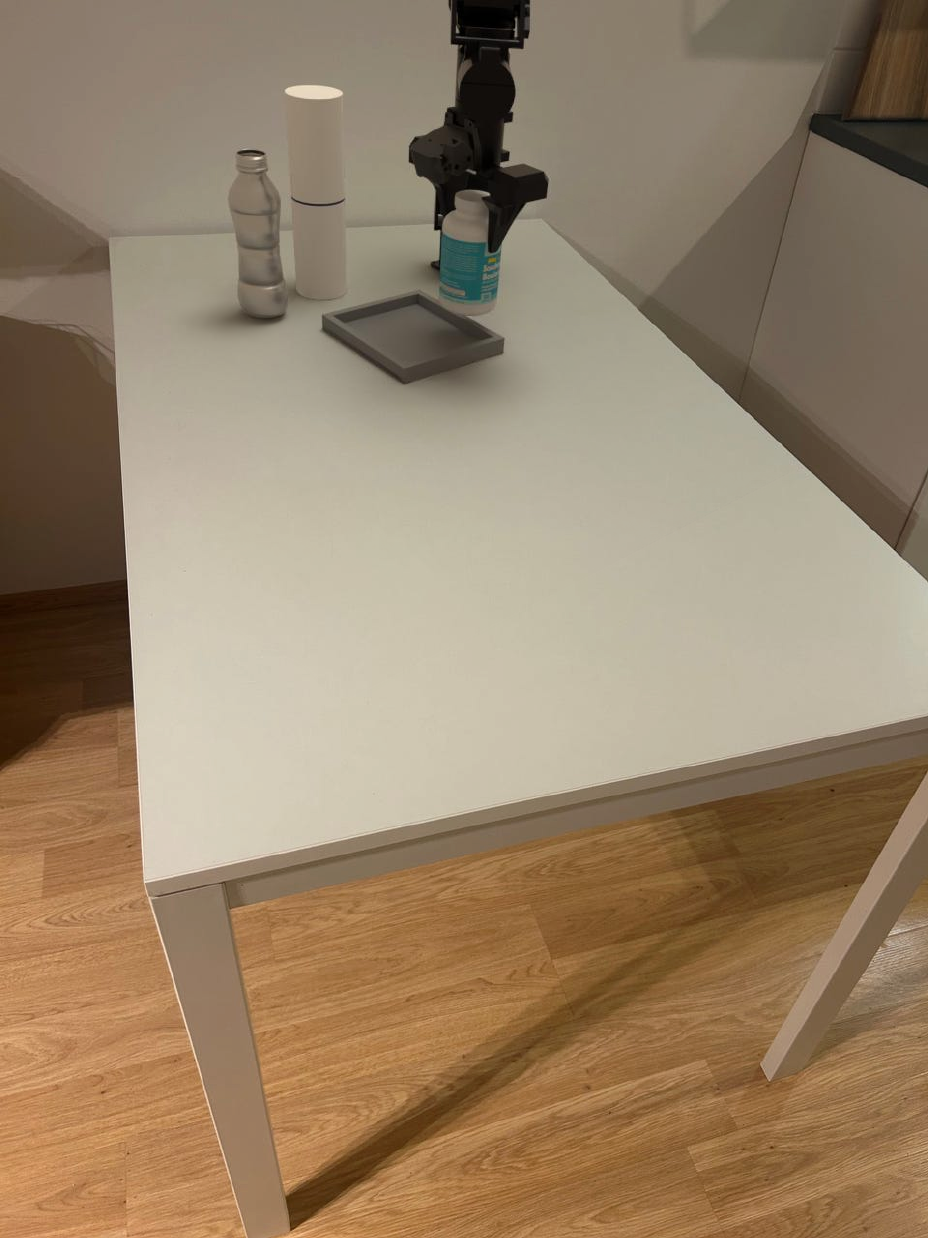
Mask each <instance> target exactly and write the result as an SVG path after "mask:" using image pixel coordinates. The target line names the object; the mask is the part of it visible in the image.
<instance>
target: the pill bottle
mask: <svg viewBox="0 0 928 1238" xmlns="http://www.w3.org/2000/svg"><path fill="white" fill-rule="evenodd" d="M485 196H490V193H487V192H484V191H479V190H463V191H459V192H457V193H456V195H455V207H456V210H454V211H452V212H450V213H449V214H447V215H446V217H445V218H444V220H443V224H442V241H441V262H440V270H439V283H438V285H439V287H438V300H439V302H440V305H441V306H442V307H443V308H444V309H446V310H447V311H449V312H451V313H454V314H458V315H464V316H467V317H477V316H484V315H487V314H489V313H491V312H492V311H494V309H495V308H496V305H497V300H498V289H499V277H500V270H501V269H500V267H501V256H502V249H503V248H502V246H503V242H502V243H501V245H500V247H499V249H498V251H497V252H495V253H489V252H488V220H489V209H488V208H487V206H486V205H485V203H484V202H483V200H482V197H485Z"/></svg>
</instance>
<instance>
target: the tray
mask: <svg viewBox="0 0 928 1238" xmlns="http://www.w3.org/2000/svg"><path fill="white" fill-rule="evenodd" d="M321 327H322V330H323V331H324V332H326V333H327V334H329V335H330V336H332V337H333V338H335V339H336V340H337V341H339V342H340V343H342V344H343V345H345V346H347V347H348V348H350V349H351V350H353V351H354V352H356V353H357V354H358V355H360V356H361V357H363V358H365V360H367V361H369V362H371V364H374V365H375V366H377V367H378V368H380V369H381V370H383V372H385V373H387V374H388V375H390V376H391V377H392V378H394V379H396V380H397V381H399V382H400V383H401V384H403V385H407V384H408V383H413V382H415V381H419V380H421V379H424V378H427V377H430V376H433V375H436V374H440V373H444V372H446V371H450V370H453V369H456V368H459V367H462V366H466V365H468V364H471V363H475V362H478V361H481V360H484V359H488V358H491V357H493V356H497V355H500V354H503V353H504V349H505V348H504V347H505V340H506V339H505V337H504V336H502V335H500V334H498V333H497V332H495V331H493V330H491V329H490V328H488V327H486V326H485V325H483V324H481V323H479V322H477V321H476V320H474V319H472V318H471V317H470V316H464V315H458V314H454V313H451V312H449V311H447V310H446V309H444V308H443V307H442V306H441V305H440V302H439V299H437V298H435V297H433V296H432V295H430V294H428V293H426V292H424V291H422V290H421V289H417V290H413V291H410V292H404V293H401V294H397V295H394V296H389V297H385V298H382V299H377V300H374V301H370V302H365V303H361V304H358V305H357V304H356V305H354V306H349V307H346V308H342V309H337V310H334V311H330V312H327V313H323V314H321Z"/></svg>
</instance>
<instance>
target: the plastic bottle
mask: <svg viewBox="0 0 928 1238" xmlns="http://www.w3.org/2000/svg"><path fill="white" fill-rule="evenodd" d="M235 170H236V171H238V173H237V176H236V177H235V179H234V180H233V182H232V183H231V186H230V187H229V190H228V196H227V202H228V208H229V212H230V216H231V220H232V223H233V225H232V226H233V228H234V234H235V241H236V248H237V253H238V261H237V262H238V279H237V294H236V295H237V298H238V302H239V303H238V304H239V307H240V308H241V310H243V312H244V313H245V314H246V315H248V316H250V317H253V318H256V319H272V318H276V317H279V316H281V315H283V314H284V313H285V311H286V310H287V307H288V303H289V291H288V287H287V283H286V280H285V277H284V270H283V263H282V258H281V257H282V256H281V245H280V243H281V237H280V235H281V234H280V226H281V211H282V210H281V208H282V198H281V196H280V193H279V190H278V189H277V188H276V186H275V183H273V181H272V180H271V178H270V177H269V175H268V174H267V172H268V171H269V164H268V155H267V153H266V151H264V150H261V149H257V148H256V149H255V148H244V149H239V150H236V151H235Z"/></svg>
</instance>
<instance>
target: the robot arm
mask: <svg viewBox="0 0 928 1238" xmlns="http://www.w3.org/2000/svg"><path fill="white" fill-rule="evenodd" d="M447 5H448V8H449V11H450V29H449V30H450V31H449V32H450V35H449V36H450V37H449V41H450V43H449V44H450V45H452V46H453V45H454V46H457V49H456V52H457V53H456V70H455V71H456V73H455V76H456V77H455V95H454V106H449V107H447V108H446V111H445V113H444V120H443V125H442V126H440V127H438V128H434V129H433V130H431V131H429V132H428V133H426V134H423V135H415V136H414V137H413V139H412V140H411V142H410V144H409V145H408V163H409V164H412V165H413V166H414V171H415V175H416V176H417V177H418V178H419V177H420V178H424V179H427V180H428V181H429V182H430V183H431V184H432V185H433V187H434V203H433V205H434V207H433V231H436V232H437V231H439V232H440V233H439V249H438V250H439V252H438V253H439V254H438V259H437V260H433V261H431V262H430V266H431V267H432V268H434V269H436V270H438V271H440V262H441V241H442V224H443V220H444V218H445V217H446V215H447V214H449V213H450V212H452V211H454V210H456V207H455V195H456V193H457V192H459V191H463V190H479V191H484V192H487V193H490V196H485V197H482V200H483V202H484V203H485V205H486V206H487V208H488V209H489V220H488V252H489V253H495V252H497V251H498V249H499V247H500V245H501V243H502V244H503V241H504V240H505V238H506V236H507V234H508V233H509V231H510V229H511V227H512V225H513V224H514V222H515V221H516V219H517V218H518V216H519V215H520V213H521V212H522V210H523V208H524V207H525V206H526V204H528V203H532V202H537V201H541V200H545V199H548V188H549V177H548V175H547V174H546V172H545V171H543V170H540V169H538V168H536V167H533V166H531V165H528V164H526V163H519V164H514V165H509V166H505V167H503V166H501V163H505V162H509V161H510V154H511V151H509V150H507V149H504V148H503V147H504V134H505V124H509V123H513V121H514V111H512V108H513V106H514V103H515V100H516V93H517V92H516V84H515V80H514V76H513V72H512V70H511V66H510V64H511V53H510V52H509V50H510V49H515V50H524V47H525V39H527V40H528V39H529V37H530V33H531V31H530V29H531V0H447ZM515 29H516V30H515ZM457 30H458V31H457ZM515 33H516V35H515Z"/></svg>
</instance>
